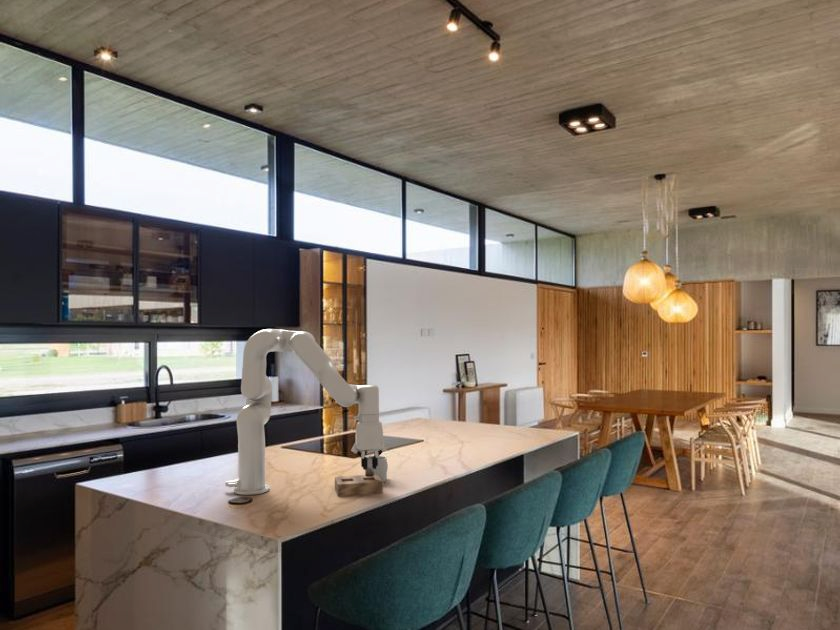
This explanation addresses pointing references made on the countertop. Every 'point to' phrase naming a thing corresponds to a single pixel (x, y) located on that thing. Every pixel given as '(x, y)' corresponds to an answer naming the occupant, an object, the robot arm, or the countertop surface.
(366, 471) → the dowel
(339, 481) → the bore block
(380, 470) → the cup
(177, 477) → the countertop surface
